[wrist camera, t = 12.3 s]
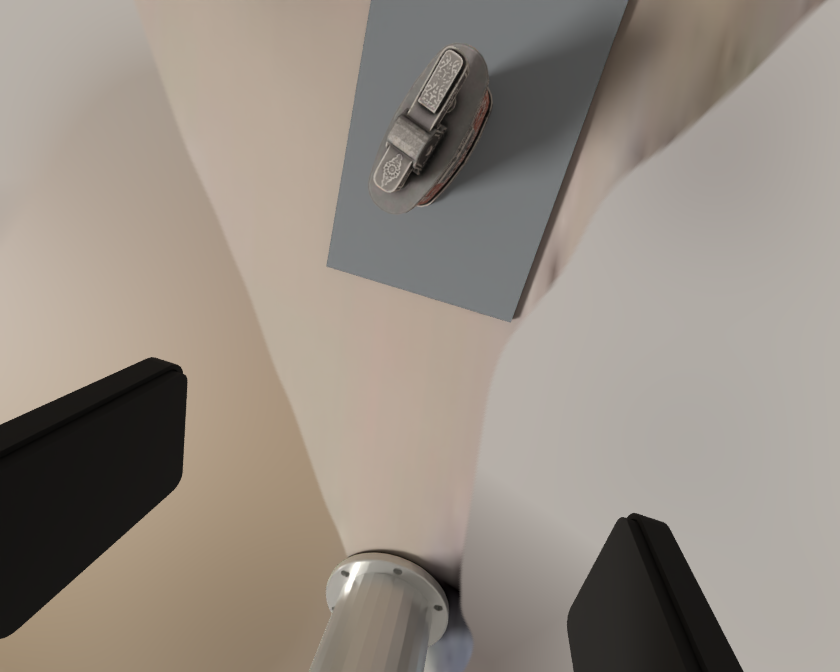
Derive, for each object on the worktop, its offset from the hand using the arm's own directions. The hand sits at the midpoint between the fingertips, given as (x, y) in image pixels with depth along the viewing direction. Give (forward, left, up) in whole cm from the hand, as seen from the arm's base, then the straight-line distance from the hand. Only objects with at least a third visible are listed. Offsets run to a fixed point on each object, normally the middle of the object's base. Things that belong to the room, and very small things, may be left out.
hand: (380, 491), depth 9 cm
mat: (+8, +3, -23) cm, 24 cm away
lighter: (+7, +4, -22) cm, 24 cm away
